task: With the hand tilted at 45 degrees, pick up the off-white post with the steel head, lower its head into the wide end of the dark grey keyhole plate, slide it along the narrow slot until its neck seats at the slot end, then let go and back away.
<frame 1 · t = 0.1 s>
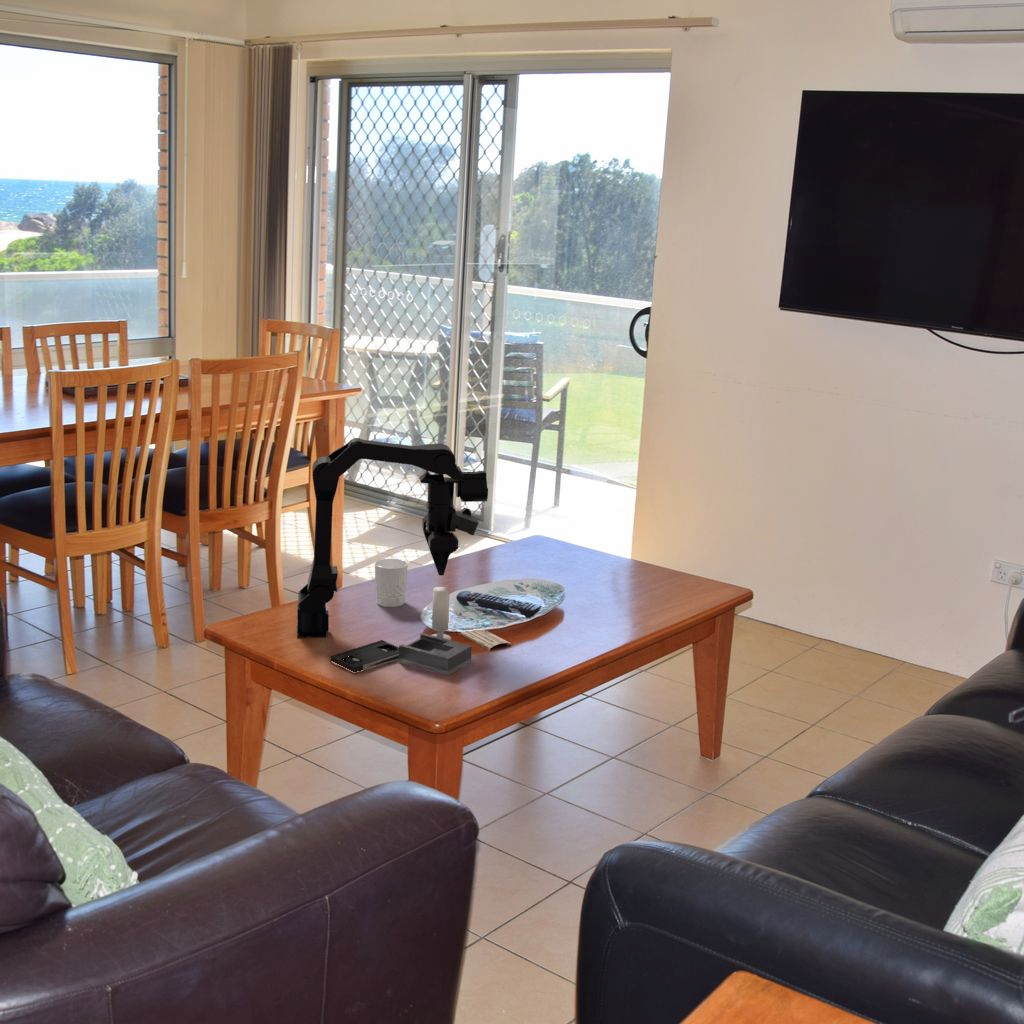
hand: (438, 568, 267), 15 cm above the table, tool pointing down, fingers open, 9 cm apart
white cup: (390, 603, 287), on the table
post: (439, 642, 263), on the table
keyhole plate: (434, 662, 252), on the table
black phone: (368, 662, 253), on the table
newspaper: (471, 634, 272), on the table
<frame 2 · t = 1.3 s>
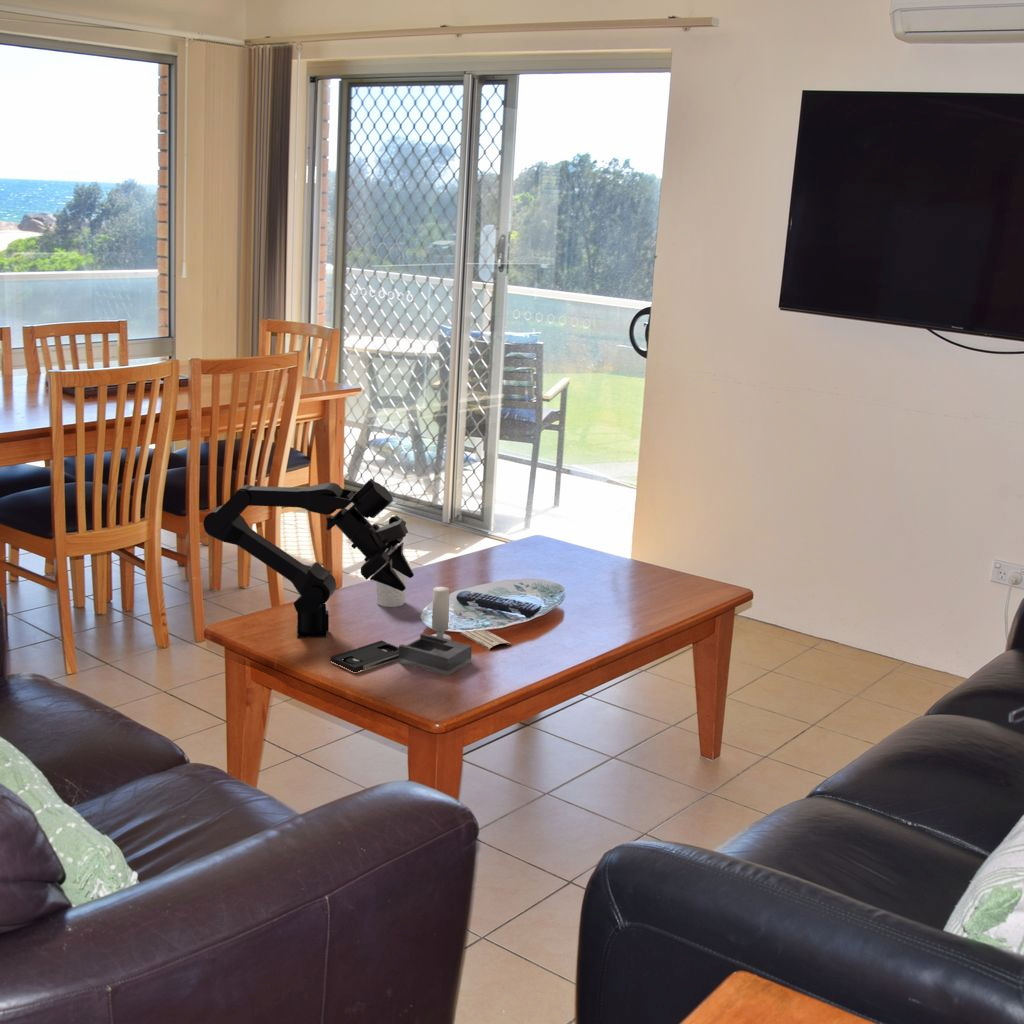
hand: (408, 583, 261), 13 cm above the table, tool tilted 45°, fingers open, 9 cm apart
nothing on the table moved.
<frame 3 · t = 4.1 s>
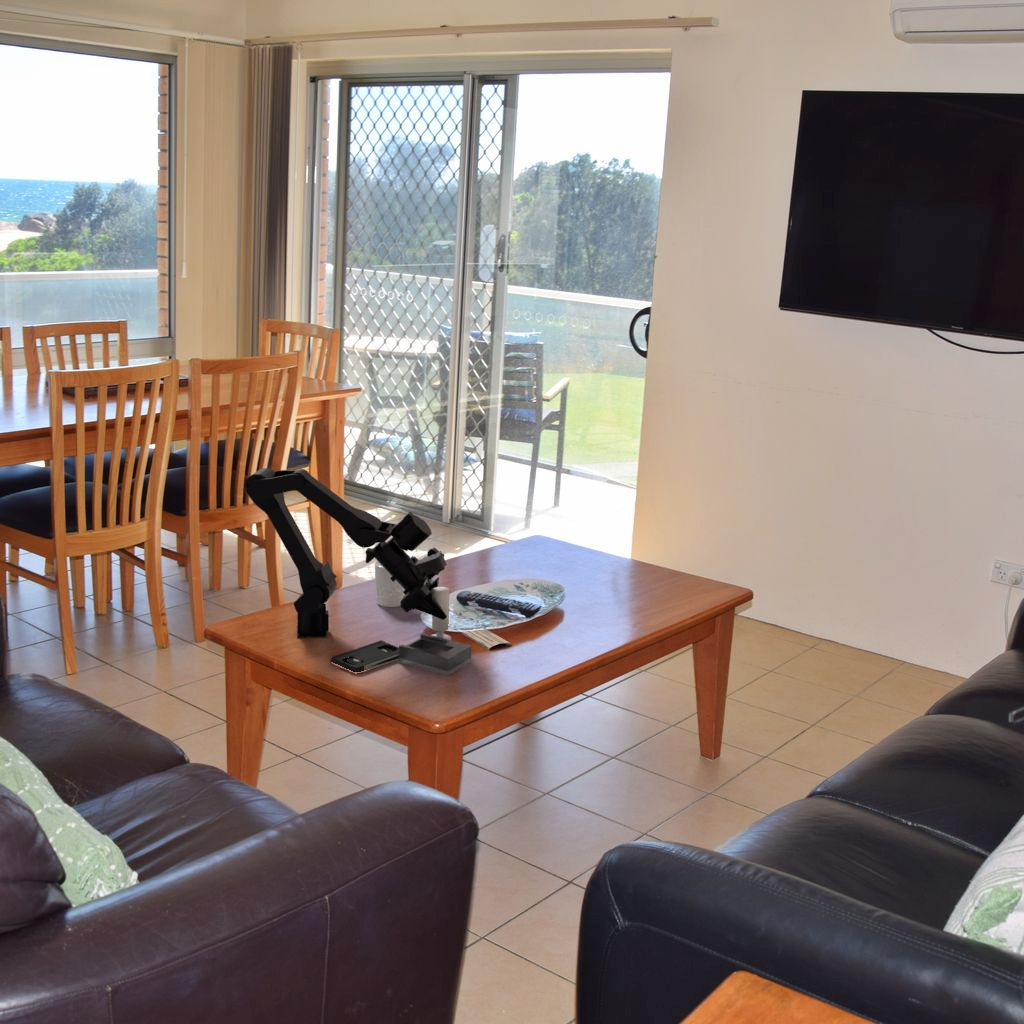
hand: (446, 615, 261), 7 cm above the table, tool tilted 45°, fingers closed on post, 4 cm apart
post: (439, 642, 263), on the table, touching gripper
everything else where it was.
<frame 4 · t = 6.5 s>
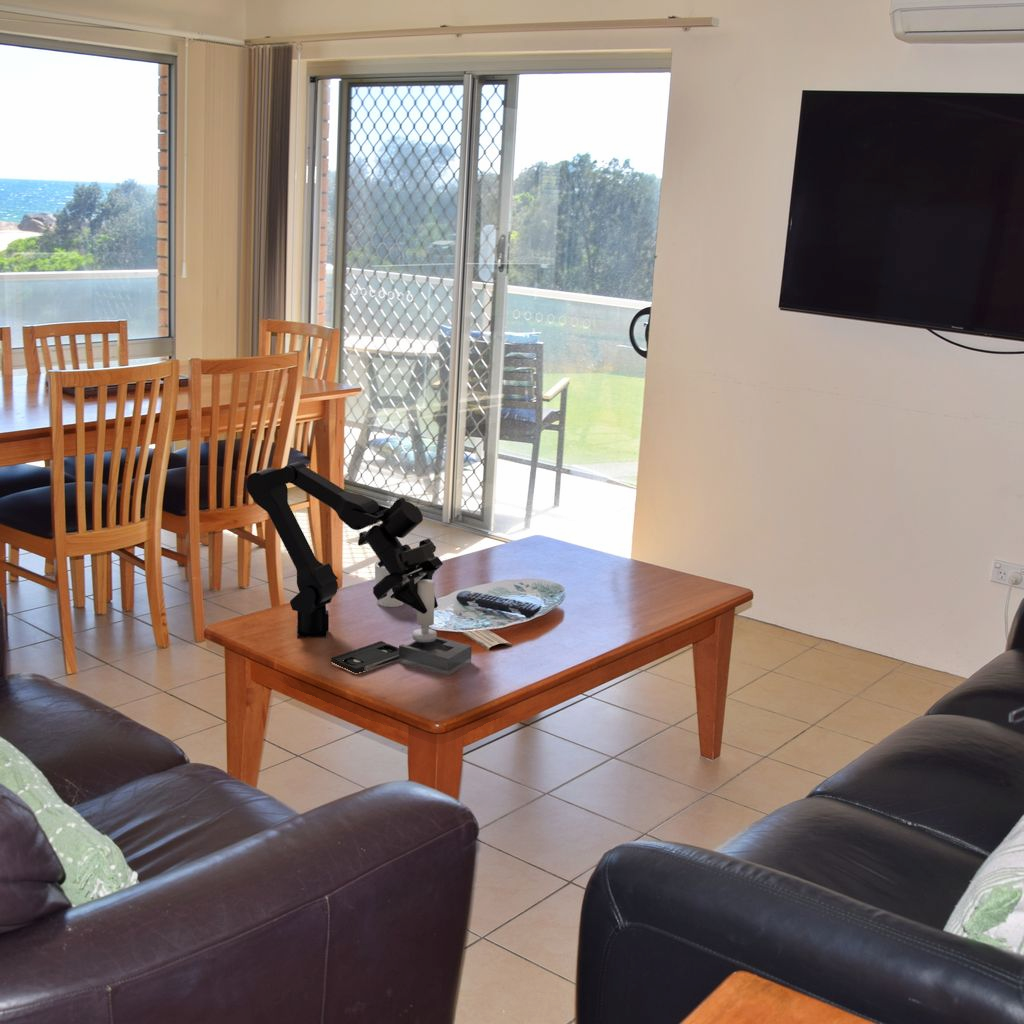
hand: (431, 610, 250), 11 cm above the table, tool tilted 45°, fingers closed on post, 4 cm apart
post: (424, 638, 252), point 5 cm above the table, touching gripper
everything else where it was.
when the fingers open (8 cm above the table, at t = 8.9 s): post stays where it is, resting on keyhole plate.
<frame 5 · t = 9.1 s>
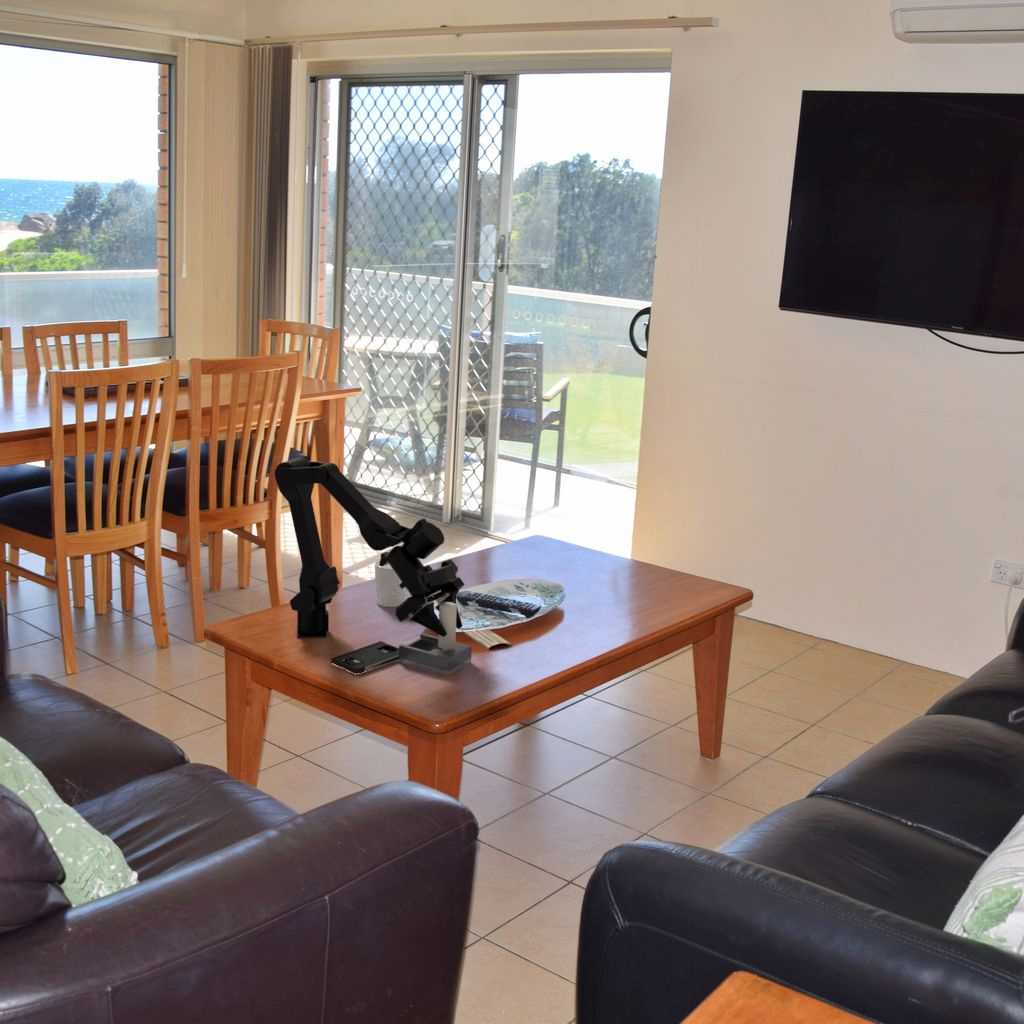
hand: (453, 631, 248), 8 cm above the table, tool tilted 45°, fingers open, 6 cm apart
post: (446, 660, 251), point 1 cm above the table, touching keyhole plate
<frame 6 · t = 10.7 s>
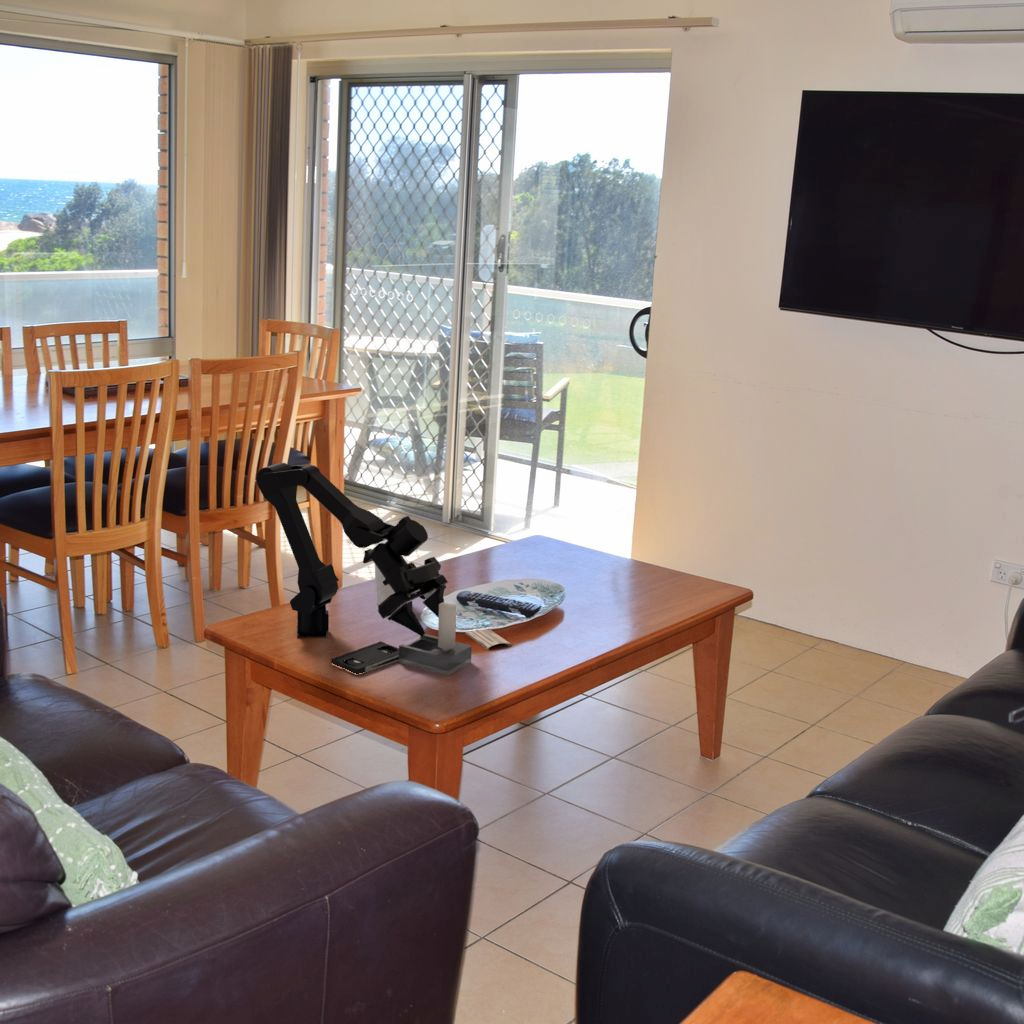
hand: (435, 628, 250), 8 cm above the table, tool tilted 45°, fingers open, 9 cm apart
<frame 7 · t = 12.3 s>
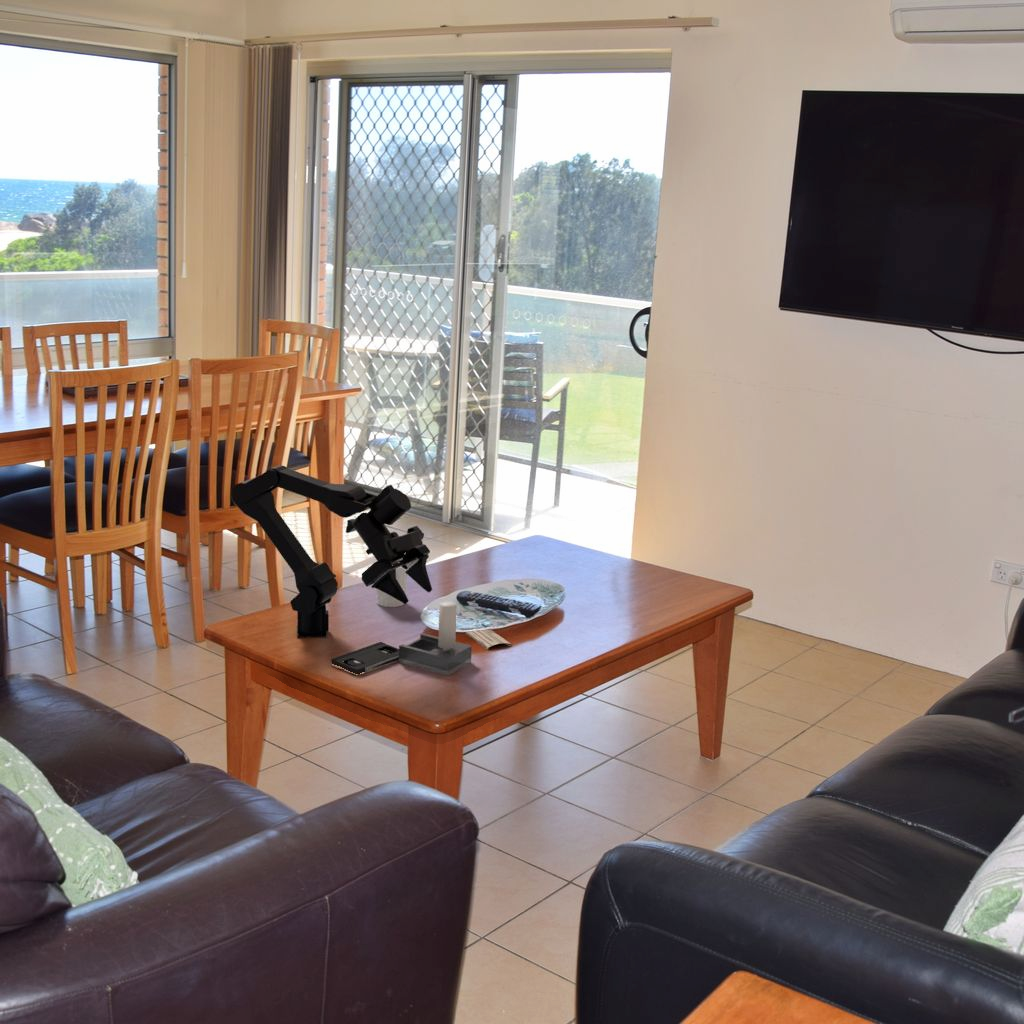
hand: (418, 596, 251), 14 cm above the table, tool tilted 45°, fingers open, 9 cm apart
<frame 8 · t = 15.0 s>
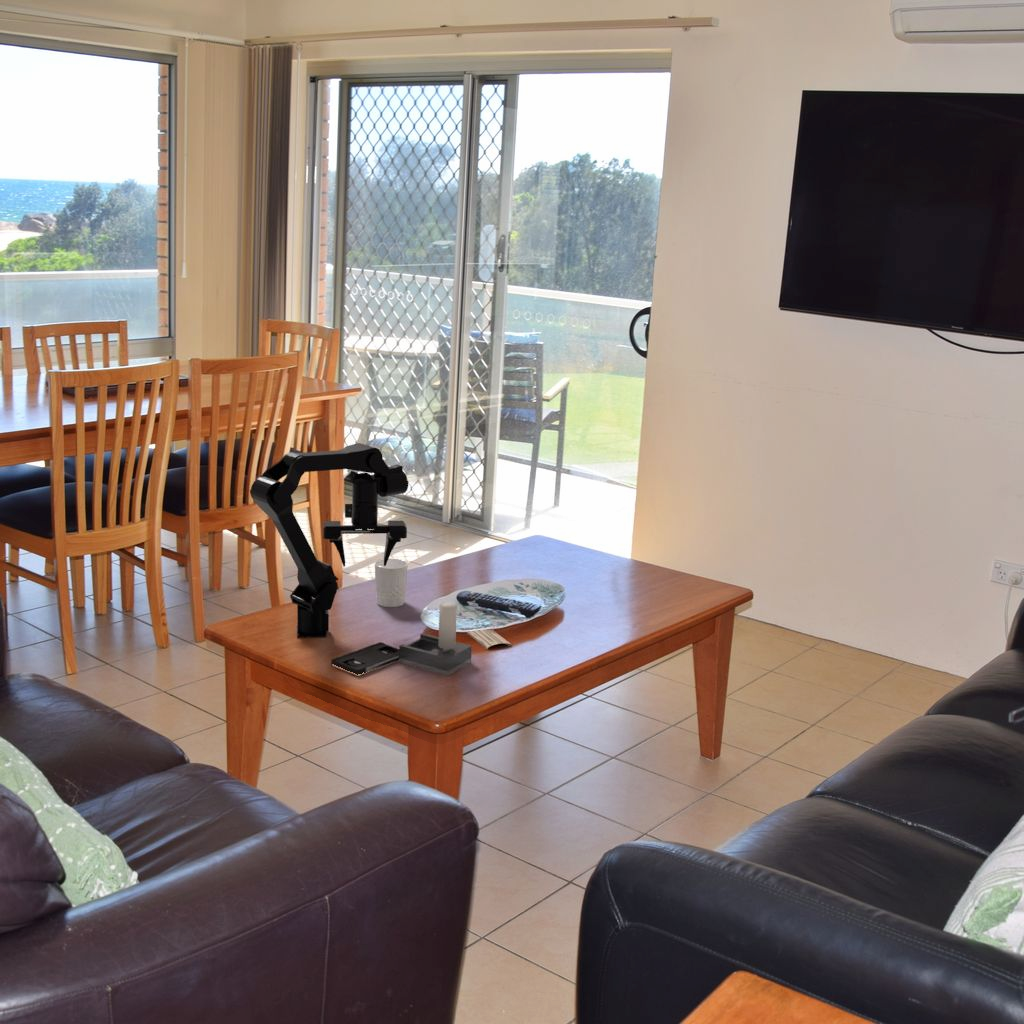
hand: (364, 565, 272), 13 cm above the table, tool pointing down, fingers open, 9 cm apart
at the end: post 0.1 cm from the target spot on the keyhole plate, point 1.0 cm above the keyhole plate's base; post tilted 1°; the gripper is holding nothing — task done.
